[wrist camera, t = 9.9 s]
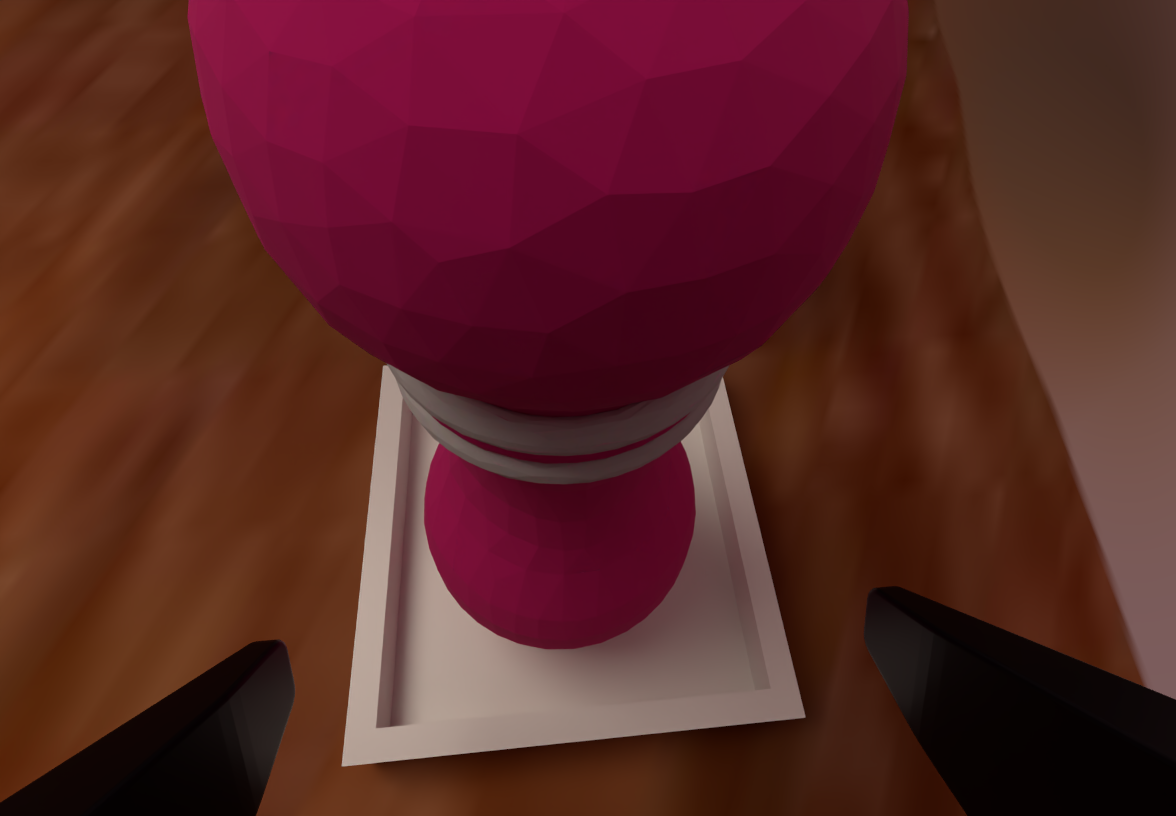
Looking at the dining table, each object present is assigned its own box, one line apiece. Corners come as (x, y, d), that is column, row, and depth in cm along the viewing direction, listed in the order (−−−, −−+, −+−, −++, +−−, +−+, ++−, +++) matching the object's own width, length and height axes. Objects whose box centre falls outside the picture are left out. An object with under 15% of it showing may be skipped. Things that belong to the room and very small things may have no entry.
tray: (776, 718, 18) (805, 717, 16) (369, 761, 17) (341, 766, 15) (702, 382, 24) (715, 348, 22) (400, 399, 23) (383, 365, 21)
